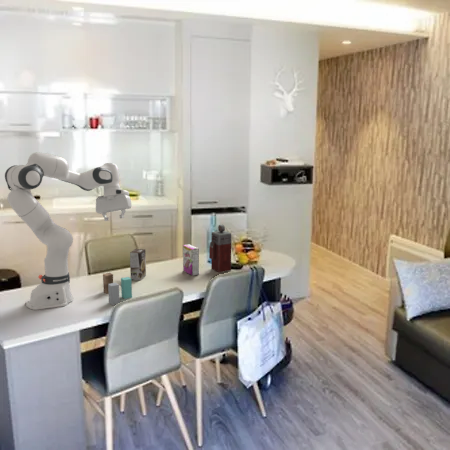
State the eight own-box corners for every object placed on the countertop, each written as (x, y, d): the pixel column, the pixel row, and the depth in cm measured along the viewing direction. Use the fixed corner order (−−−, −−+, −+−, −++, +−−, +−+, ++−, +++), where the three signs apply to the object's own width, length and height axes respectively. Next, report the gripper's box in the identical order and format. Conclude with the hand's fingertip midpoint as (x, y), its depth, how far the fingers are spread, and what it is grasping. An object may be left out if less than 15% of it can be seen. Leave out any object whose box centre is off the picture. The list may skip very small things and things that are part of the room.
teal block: (124, 298, 263) (124, 280, 261) (121, 296, 267) (120, 278, 264) (131, 297, 266) (131, 278, 263) (128, 295, 269) (128, 276, 267)
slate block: (112, 305, 254) (111, 286, 252) (108, 302, 258) (108, 283, 255) (119, 303, 257) (118, 284, 254) (116, 301, 260) (115, 282, 258)
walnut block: (106, 293, 270) (105, 275, 268) (103, 291, 273) (102, 273, 271) (113, 292, 272) (113, 274, 270) (110, 290, 276) (110, 272, 274)
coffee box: (140, 280, 293) (140, 253, 289) (130, 279, 294) (129, 252, 290) (146, 275, 301) (145, 249, 298) (136, 274, 303) (135, 248, 299)
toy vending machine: (207, 269, 315) (208, 224, 309) (223, 266, 321) (223, 222, 315) (215, 273, 307) (215, 227, 301) (231, 270, 313) (231, 225, 307)
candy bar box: (182, 271, 310) (182, 244, 307) (189, 269, 313) (189, 243, 310) (192, 276, 301) (191, 249, 298) (199, 274, 304) (199, 247, 300)
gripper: (92, 196, 273) (94, 221, 271) (125, 189, 266) (127, 215, 264) (99, 197, 279) (100, 222, 277) (131, 191, 272) (133, 217, 270)
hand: (114, 219), depth 270 cm, fingers open, 8 cm apart
